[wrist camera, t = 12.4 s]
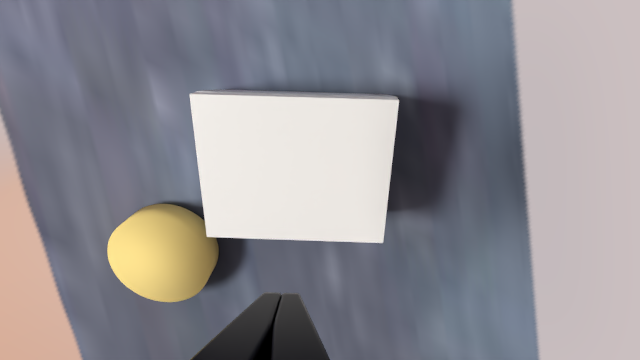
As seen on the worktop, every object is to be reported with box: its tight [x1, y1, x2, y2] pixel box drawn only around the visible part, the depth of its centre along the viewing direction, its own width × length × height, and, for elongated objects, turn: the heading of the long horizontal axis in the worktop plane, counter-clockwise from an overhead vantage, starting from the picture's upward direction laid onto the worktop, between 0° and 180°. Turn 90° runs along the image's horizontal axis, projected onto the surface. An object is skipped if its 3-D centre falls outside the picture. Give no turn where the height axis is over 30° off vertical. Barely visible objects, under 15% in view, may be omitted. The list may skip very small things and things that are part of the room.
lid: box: [190, 92, 399, 243], centre depth 15 cm, size 7×9×1 cm
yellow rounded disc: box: [107, 204, 219, 302], centre depth 20 cm, size 6×6×2 cm
